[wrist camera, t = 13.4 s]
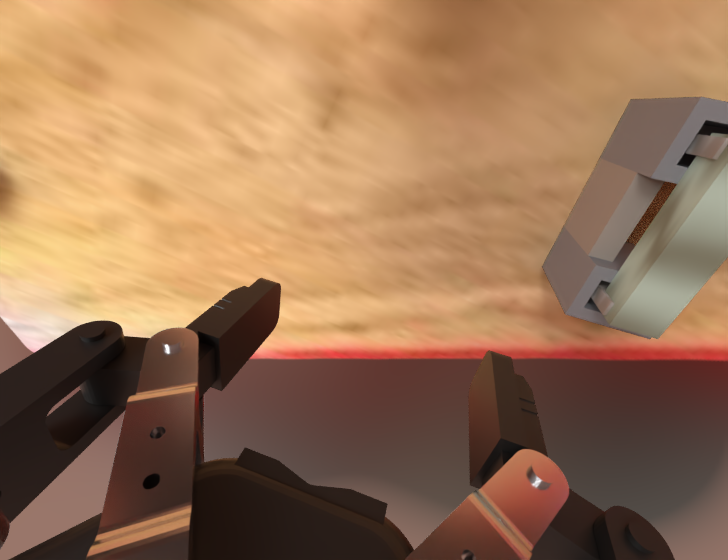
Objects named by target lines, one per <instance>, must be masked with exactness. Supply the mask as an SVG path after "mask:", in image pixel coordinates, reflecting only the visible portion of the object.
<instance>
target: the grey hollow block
mask: <svg viewBox="0 0 728 560" xmlns="http://www.w3.org/2000/svg"><path fill="white" fill-rule="evenodd" d="M712 133H719V134H728V102H725V101H720V100H715V99H710V98H705V97H683V98H655V99H631V100H630V102H629V104H628V106H627V108H626V109H625V111H624V113H623V115H622V117H621V119H620V121H619V123H618V125H617V126H616V128H615V130H614V132H613V134H612V136H611V138H610V140H609V142H608V143H607V145H606V147H605V149H604V151H603V153H602V155H601V157H600V158H599V160H598V162H597V164H596V166H595V168H594V170H593V172H592V174H591V175H590V177H589V179H588V181H587V183H586V185H585V187H584V189H583V191H582V192H581V194H580V196H579V198H578V200H577V202H576V204H575V206H574V207H573V209H572V211H571V213H570V215H569V217H568V219H567V221H566V223H565V224H564V226H563V228H562V230H561V232H560V234H559V236H558V238H557V240H556V241H555V243H554V245H553V247H552V249H551V251H550V253H549V255H548V257H547V258H546V260H545V262H544V264H543V266H542V267H543V270H544V272H545V274H546V276H547V278H548V280H549V282H550V284H551V286H552V288H553V290H554V292H555V294H556V296H557V298H558V300H559V302H560V305H561V307H562V309H563V311H564V313H565V314H566V315H569V316H573V317H576V318H579V319H583V320H586V321H590V322H593V323H597V324H600V325H603V326H607V327H610V328H614V329H617V330H620V331H624V332H627V333H631V334H634V335H638V336H641V337H644V338H648V339H651V337H649V336H646V335H642V334H639V333H635V332H632V331H629V330H625V329H622V328H618V327H615V326H612V325H609V324H608V322H607V321H606V319H605V318H604V316H603V315H602V313H601V312H600V310H599V309H598V307H597V306H596V304H595V302H594V301H593V299H592V298H591V296H592V294H593V293H594V291H595V289H596V288H597V286H598V285H599V283H600V282H601V280H602V281H606V282H610V283H611V281H612V280H613V278H614V277H615V276H616V274H617V273H618V271H619V270H620V268H621V267H622V265H623V264H624V262H625V261H626V259H627V258H628V256H629V255H630V253H631V252H632V250H633V249H634V247H635V245H634V244H632V243H628V242H626V241H627V239H628V237H629V236H630V234H631V233H632V231H633V230H634V228H635V227H636V225H637V224H638V222H639V221H640V219H641V217H642V216H643V214H644V213H645V211H646V210H647V208H648V207H649V205H650V204H651V202H652V201H653V199H654V198H655V196H656V194H657V193H658V191H659V190H660V188H661V187H662V185H663V184H664V182H665V181H666V182H671V183H675V184H678V182H679V181H680V179H681V178H682V176H683V175H684V174H685V172H686V171H687V169H688V168H689V166H690V165H691V163H692V162H693V160H694V159H695V157H696V155H691V154H687V153H685V152H686V150H687V148H688V147H689V145H690V144H691V142H692V141H693V139H694V138H695V136H696V135H697V134H700V135H708V136H710V135H711V134H712Z"/></svg>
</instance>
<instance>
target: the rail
mask: <svg viewBox="0 0 728 560" xmlns="http://www.w3.org/2000/svg"><path fill="white" fill-rule="evenodd" d="M685 153H687V154H691V155H696V157H695V159H694V160H693V162H692V163H691V165H690V166H689V168H688V169H687V171H686V172H685V174H684V175H683V176H682V178H681V179H680V181H679V182H678V184H677V185H676V187H675V188H674V190H673V191H672V193H671V194H670V196H669V197H668V199H667V200H666V202H665V203H664V205H663V206H662V208H661V209H660V210H659V212H658V213H657V215H656V216H655V218H654V219H653V221H652V222H651V224H650V225H649V227H648V228H647V230H646V231H645V233H644V234H643V236H642V237H641V239H640V240H639V242H638V243H637V244H636V246H635V247H634V249H633V250H632V252H631V253H630V255H629V256H628V258H627V259H626V261H625V262H624V264H623V265H622V267H621V268H620V270H619V271H618V273H617V274H616V276H615V277H614V278H613V280H612V281H611V283H610V282H606V281H602V280H601V282H600V283H599V285H598V286H597V288H596V289H595V291H594V293H593V294H592V296H591V298H592V299H593V301H594V302H595V304H596V306H597V307H598V309H599V310H600V312H601V313H602V315H603V316H604V318H605V319H606V321H607V322H608V324H609V325H612V326H615V327H618V328H622V329H625V330H629V331H632V332H635V333H639V334H642V335H646V336H649V337H652V338H656V339H658V338H659V337H660V336H661V335H662V334H663V333H664V331H665V330H666V329H667V328H668V327H669V325H670V324H671V323H672V322H673V321H674V320H675V318H676V317H677V316H678V315H679V314H680V313H681V311H682V310H683V309H684V308H685V307H686V306H687V304H688V303H689V302H690V301H691V300H692V298H693V297H694V296H695V295H696V294H697V293H698V291H699V290H700V289H701V288H702V287H703V286H704V284H705V283H706V282H707V281H708V280H709V278H710V277H711V276H712V275H713V274H714V273H715V271H716V270H717V269H718V268H719V267H720V266H721V264H722V263H723V262H724V261H725V260H726V259H727V257H728V134H719V133H712V134H711V135H710V136H708V135H700V134H697V135H696V136H695V138H694V139H693V141H692V142H691V144H690V145H689V147H688V148H687V150H686V152H685Z"/></svg>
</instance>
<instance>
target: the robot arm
mask: <svg viewBox="0 0 728 560" xmlns="http://www.w3.org/2000/svg"><path fill="white" fill-rule="evenodd" d="M280 294H281V286H280V284H279V283H276V282H273V281H270V280H266V279H263V278H260V279H258V280H257V281H256V282H255V283H253V284H252V285H251V286H250V287H246V286H243V287H240V288H238V289H235V290H232V291H231V292H229V293H228V294H227V295H226V296H224V297H223V298H222V300H219V301H218V302H217V303H216V304H214V306H212V307H211V308H209V309H208V310H207V311H206V312H204V313H203V314H202V315H201V316H199V317H198V318H197V319H196V320H194V321H193V322H192V323H191V324H189V325H188V326H187V327H186V328H170V329H166V330H163V331H161V332H158V333H157V334H155V335H153V336H152V337H151V338H141V337H128V336H124V335H123V331H122V328H121V326H120V325H119V324H117V323H115V322H112V321H94V322H89V323H85V324H82V325H80V326H77V327H75V328H74V329H72V330H70V331H69V332H67V333H65V334H64V335H62V336H61V337H59V338H57V339H56V340H54V341H53V342H51V343H49V344H48V345H46V346H45V347H43V348H41V349H40V350H38V351H36V352H35V353H33V354H32V355H30V356H29V357H27V358H25V359H24V360H22V361H20V362H19V363H17V364H16V365H14V366H12V367H11V368H9V369H8V370H6V371H4V372H3V373H1V374H0V549H1V547H2V546H3V544H4V542H5V540H6V539H7V536H8V533H9V528H10V523H11V521H13V520H14V519H15V518H16V516H18V515H19V514H20V513H21V512H22V511H23V510H24V509H25V508H26V507H27V506H28V505H29V504H30V503H31V502H32V501H33V500H34V499H35V498H36V497H37V496H38V495H39V494H40V493H41V492H42V491H43V490H44V489H45V488H46V487H47V486H48V485H49V484H50V483H51V482H52V481H53V480H54V479H55V478H56V477H57V476H58V475H59V474H60V473H61V472H63V471H64V470H65V469H66V468H67V466H68V465H70V464H71V463H72V462H73V461H74V460H75V459H76V458H77V457H78V456H79V455H80V454H81V453H82V452H83V451H84V450H85V449H86V448H87V447H88V446H89V445H90V444H91V443H92V442H93V441H94V440H95V439H96V438H97V437H98V436H99V435H100V434H101V433H102V432H103V431H104V430H105V429H106V428H107V427H108V426H109V425H110V424H111V423H112V422H113V421H114V420H115V419H117V418H118V417H119V416H120V415H121V414H122V413H123V412H124V411H125V413H124V417H123V422H122V426H121V431H120V436H119V440H118V444H117V449H116V453H115V458H114V462H113V467H112V471H111V476H110V480H109V485H108V489H107V494H106V498H105V502H104V507H103V511H102V513H100V514H98V515H96V516H94V517H92V518H90V519H88V520H86V521H84V522H82V523H80V524H79V525H76V526H75V527H72V528H70V529H69V530H67V531H65V532H63V533H61V534H59V535H57V536H55V537H53V538H51V539H49V540H47V541H45V542H43V543H41V544H39V545H37V546H35V547H33V548H31V549H29V550H27V551H25V552H23V553H21V554H19V555H17V556H15V557H13V558H11V559H9V560H675V559H674V557H673V554H672V552H671V550H670V548H669V546H668V545H667V543H666V541H665V540H664V539H663V537H662V536H661V535H660V533H659V532H658V531H657V530H656V529H655V528H654V527H653V526H652V525H651V524H650V523H649V522H648V521H647V520H646V519H644V518H643V517H642V516H640V515H639V514H637V513H636V512H634V511H632V510H630V509H628V508H625V507H621V506H613V507H611V508H609V509H608V510H607V511H605V512H604V511H602V510H601V509H599V508H598V507H596V506H595V505H593V504H592V503H590V502H588V501H587V500H585V499H584V498H582V497H581V496H579V495H578V494H576V493H575V492H573V491H572V490H571V489H570V488H569V486H568V483H567V480H566V478H565V476H564V475H563V473H562V471H561V470H560V469H559V468H558V466H557V465H556V464H555V463H554V462H553V461H552V460H550V459H549V458H548V455H547V452H546V447H545V443H544V438H543V434H542V430H541V426H540V422H539V418H538V416H537V414H538V413H537V409H536V405H534V404H535V401H534V397H533V393H532V390H531V388H530V386H529V385H528V383H527V382H526V380H525V379H524V377H523V376H520V375H517V374H515V373H514V368H513V362H512V359H511V357H508V356H505V355H502V354H499V353H496V352H492V351H488V352H487V353H486V354H485V356H484V358H483V360H482V362H481V364H480V366H479V368H478V370H477V372H476V374H475V376H474V378H473V380H472V383H471V385H470V390H469V397H468V399H469V400H468V401H469V459H470V460H469V462H470V485H471V486H474V487H476V488H479V489H480V490H479V491H474V492H473V493H472V494H471V495H470V496H468V497H467V498H466V499H465V501H463V502H462V503H461V504H460V505H459V506H458V507H457V508H456V509H455V510H454V511H453V512H452V513H451V514H450V515H449V516H448V517H447V518H446V519H445V520H444V521H443V522H442V523H441V524H440V525H439V526H438V527H437V528H436V529H435V530H434V531H433V532H432V533H431V534H430V535H429V536H428V537H427V538H426V539H425V540H424V541H423V542H422V543H421V544H420V545H419V546H418V547H417V548H416V549H415V550H414V549H413V547H412V546H411V544H410V543H409V541H408V540H407V538H406V537H405V536H404V534H403V533H402V532H401V531H400V530H399V528H397V527H396V526H395V525H394V524H393V523H392V522H391V521H390V520H389V519H387V518H386V517H385V514H386V508H387V503H384V502H382V501H379V500H377V499H374V498H372V497H369V496H367V495H364V494H361V493H359V492H356V491H354V490H351V489H343V488H334V487H323V486H314V485H310V484H308V483H307V482H305V481H304V480H303V479H301V478H300V477H299V476H297V475H296V474H295V473H294V472H292V471H291V470H290V469H289V468H287V467H286V466H285V465H283V464H282V463H281V462H280V461H278V460H276V459H273V458H271V457H268V456H266V455H263V454H260V453H258V452H255V451H252V450H250V449H248V448H244V450H243V452H242V453H241V455H240V456H239V458H223V459H216V460H212V461H208V462H205V459H204V393H205V392H206V391H207V390H208V389H209V388H210V387H212V388H215V389H218V390H220V391H222V390H223V389H224V388H225V387H226V386H227V384H228V383H229V382H230V381H231V380H232V378H233V377H234V376H235V375H236V374H237V373H238V371H239V370H240V369H241V368H242V367H243V365H244V364H245V363H246V362H247V361H248V360H249V358H250V357H251V356H252V355H253V354H254V352H255V351H256V350H257V349H258V348H259V347H260V345H261V344H262V343H263V342H264V341H265V339H266V338H267V337H268V336H269V335H270V334H271V332H272V331H273V330H274V328H275V327H276V324H277V322H278V319H279V309H280ZM78 386H80V389H81V390H79V391H78V392H77V393H76V394H75V395H73V396H72V397H71V398H70V399H68V400H67V401H66V402H65V403H63V404H62V405H61V406H60V407H58V408H57V409H56V410H55V411H53V412H52V413H51V414H50V415H49V416H47V414H48V412H49V411H50V410H51V408H52V407H53V406H54V405H55V404H57V403H58V402H59V401H60V400H61V399H63V398H64V397H66V396H67V395H68V394H69V393H71V392H72V391H73V390H74V389H76V388H77V387H78Z"/></svg>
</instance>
